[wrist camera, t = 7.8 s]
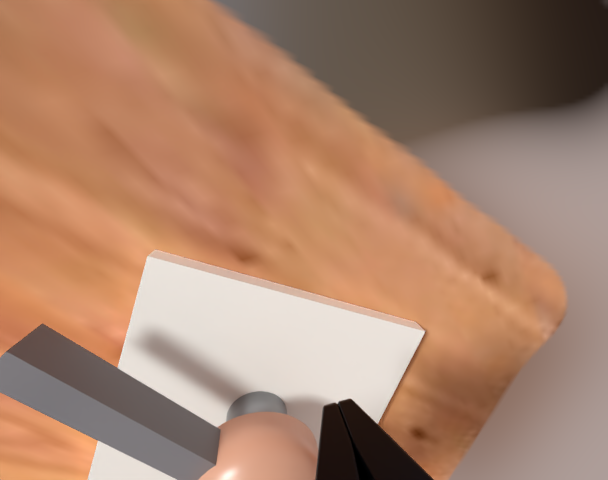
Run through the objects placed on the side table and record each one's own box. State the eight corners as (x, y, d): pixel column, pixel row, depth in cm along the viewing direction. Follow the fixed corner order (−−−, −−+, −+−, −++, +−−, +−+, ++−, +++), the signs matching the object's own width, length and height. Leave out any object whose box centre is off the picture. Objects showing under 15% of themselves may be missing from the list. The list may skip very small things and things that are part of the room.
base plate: (324, 502, 24) (337, 567, 20) (91, 484, 20) (51, 561, 16) (415, 321, 20) (452, 358, 17) (155, 249, 16) (124, 277, 12)
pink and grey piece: (341, 448, 17) (358, 507, 14) (259, 521, 17) (259, 592, 15) (89, 275, 12) (36, 313, 9) (-17, 386, 12) (-98, 454, 9)
